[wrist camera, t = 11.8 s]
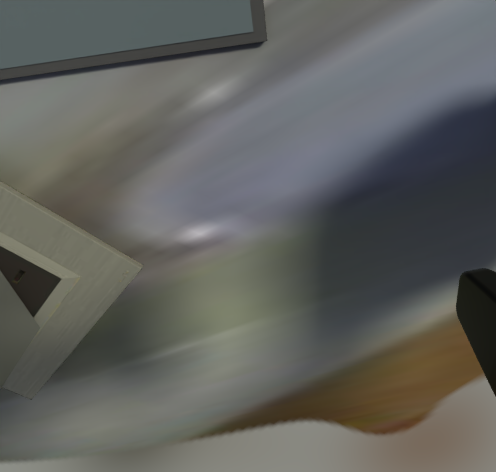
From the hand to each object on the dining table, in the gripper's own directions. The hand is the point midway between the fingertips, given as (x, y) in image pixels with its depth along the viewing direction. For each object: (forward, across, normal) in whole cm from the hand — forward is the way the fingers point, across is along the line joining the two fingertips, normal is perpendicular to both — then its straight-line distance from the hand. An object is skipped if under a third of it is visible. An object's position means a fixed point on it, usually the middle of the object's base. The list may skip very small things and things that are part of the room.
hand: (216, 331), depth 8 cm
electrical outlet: (+14, +13, +6) cm, 21 cm away
